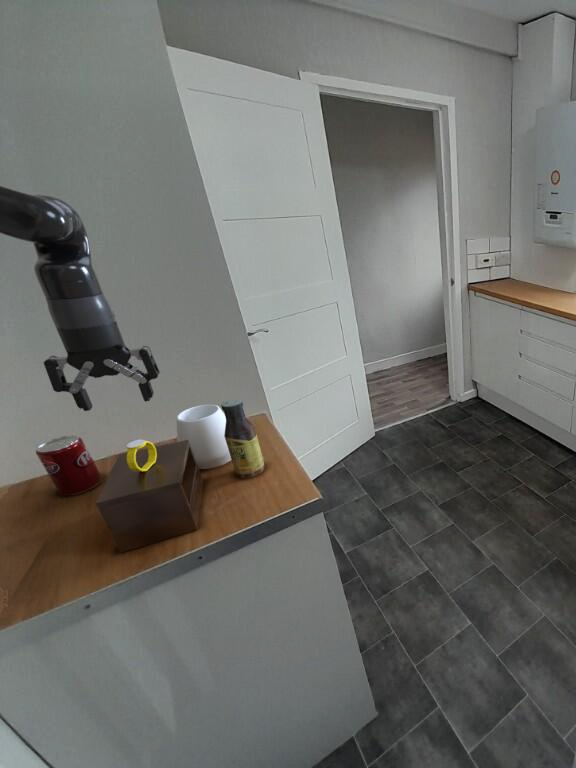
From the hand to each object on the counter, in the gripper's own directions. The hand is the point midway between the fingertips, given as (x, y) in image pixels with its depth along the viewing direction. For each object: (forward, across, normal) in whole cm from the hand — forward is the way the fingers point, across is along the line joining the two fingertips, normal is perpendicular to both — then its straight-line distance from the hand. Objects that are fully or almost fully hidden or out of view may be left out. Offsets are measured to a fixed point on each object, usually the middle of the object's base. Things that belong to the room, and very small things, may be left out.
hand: (119, 404), depth 77 cm
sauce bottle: (+26, +17, +7) cm, 32 cm away
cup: (+26, +9, +18) cm, 33 cm away
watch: (+14, +1, -1) cm, 14 cm away
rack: (+26, +1, -1) cm, 26 cm away
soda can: (+26, -17, +20) cm, 37 cm away
